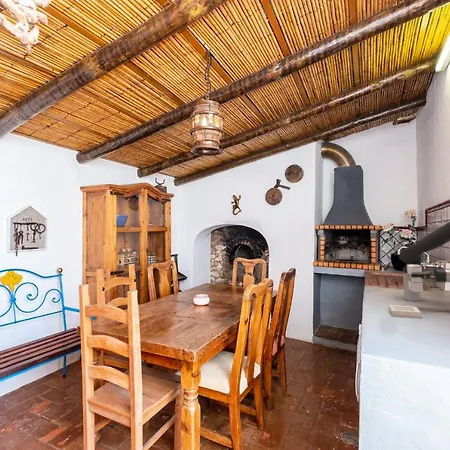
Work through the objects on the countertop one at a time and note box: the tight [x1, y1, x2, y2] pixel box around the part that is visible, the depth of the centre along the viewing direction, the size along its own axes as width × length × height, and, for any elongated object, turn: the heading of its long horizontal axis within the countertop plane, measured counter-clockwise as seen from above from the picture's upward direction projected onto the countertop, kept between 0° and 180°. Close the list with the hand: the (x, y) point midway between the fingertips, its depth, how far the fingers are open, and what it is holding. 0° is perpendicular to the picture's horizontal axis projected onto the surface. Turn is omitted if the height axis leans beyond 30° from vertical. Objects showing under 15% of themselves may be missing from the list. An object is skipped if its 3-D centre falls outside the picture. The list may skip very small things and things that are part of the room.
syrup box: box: [406, 264, 424, 293], centre depth 169 cm, size 6×6×14 cm
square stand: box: [388, 304, 423, 319], centre depth 159 cm, size 13×13×3 cm
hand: (410, 274), depth 170 cm, fingers closed on syrup box, 6 cm apart
